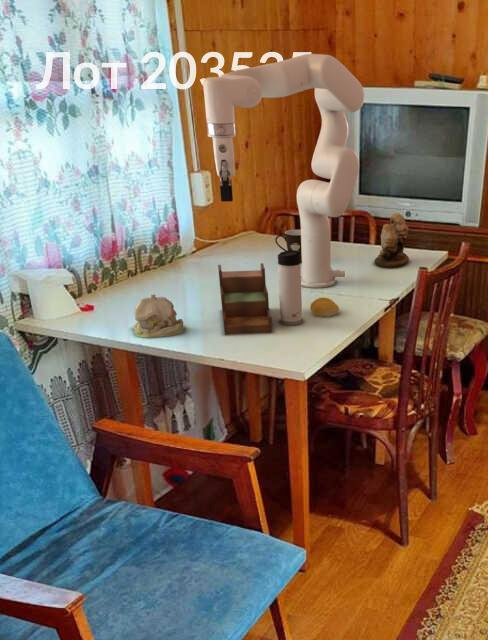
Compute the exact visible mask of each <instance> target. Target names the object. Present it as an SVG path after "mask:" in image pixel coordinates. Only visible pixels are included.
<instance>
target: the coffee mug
mask: <svg viewBox="0 0 488 640" xmlns="http://www.w3.org/2000/svg"><path fill="white" fill-rule="evenodd" d="M278 238H283V239H284V241H285V243H286V249H285V248H284V247H282V245H280V244H279V242H278ZM274 241H275V244H276V246H278V247H279V248H280V249H281V250H283V252H284V251H291V250H297V251H301V229H288V230H286V231H284V235H283V234H279V235H277V236H276V237H275V239H274ZM300 263H301V264H302V253H301V255H300Z"/></svg>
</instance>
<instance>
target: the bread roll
mask: <svg viewBox="0 0 488 640" xmlns="http://www.w3.org/2000/svg"><path fill="white" fill-rule="evenodd" d="M309 308H310V309H309V310H310V311H311V313H313V315H314V316H316V317H323V318H327V317H328V318H329V317H333V316H336V315H337V314H338V313H339V312H340V307H339V305H338V304H336V302H335V301H334V300H333V299H331V298H328V297H318V298H316V299H315V300H313V301H312V302H311V303H310V306H309Z"/></svg>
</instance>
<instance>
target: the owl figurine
mask: <svg viewBox="0 0 488 640" xmlns="http://www.w3.org/2000/svg"><path fill="white" fill-rule="evenodd" d="M389 218H390V219H389V221H390V223H385V224H383V226H382V229H381V234H380V247H381V250H379V254H378V255H377V257H376V258H375V259H374V265H375V266H377V267H379V268H383V269H397V268H398V269H399V268H401V267H405V266H406V265H407V264H408V263H409V261H410V257H409V256H408V255H407V254H406V253H405V252H404V249H405V246H406V242H407V241H408V236H409V226H408V225H407V224H406V223H407V222H406V220H405V217H404V216H403V215H402V214H400V213H398V212H393V213H392V214H391V215H390V217H389Z"/></svg>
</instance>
